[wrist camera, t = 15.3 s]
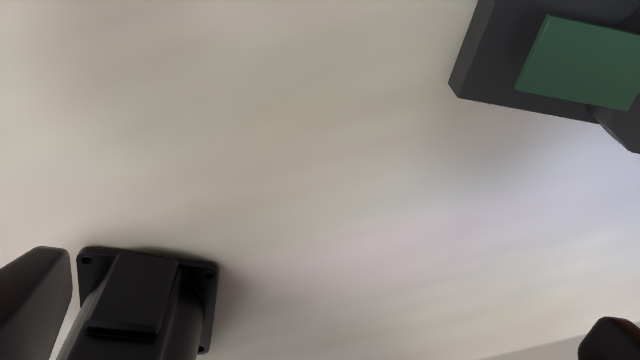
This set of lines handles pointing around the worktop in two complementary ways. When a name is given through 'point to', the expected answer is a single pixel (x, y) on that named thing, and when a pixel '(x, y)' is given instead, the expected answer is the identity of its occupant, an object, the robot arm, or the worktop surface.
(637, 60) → the scale pan
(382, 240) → the worktop surface
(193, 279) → the robot arm
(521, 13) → the scale
